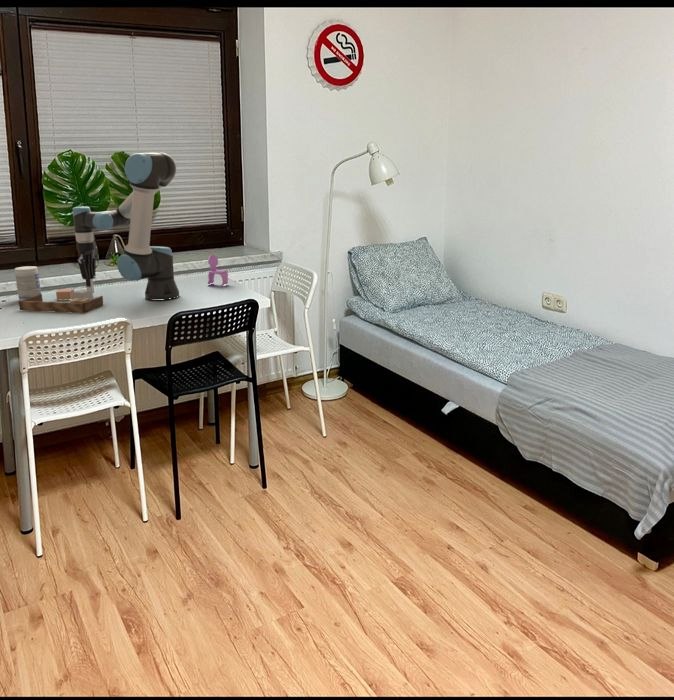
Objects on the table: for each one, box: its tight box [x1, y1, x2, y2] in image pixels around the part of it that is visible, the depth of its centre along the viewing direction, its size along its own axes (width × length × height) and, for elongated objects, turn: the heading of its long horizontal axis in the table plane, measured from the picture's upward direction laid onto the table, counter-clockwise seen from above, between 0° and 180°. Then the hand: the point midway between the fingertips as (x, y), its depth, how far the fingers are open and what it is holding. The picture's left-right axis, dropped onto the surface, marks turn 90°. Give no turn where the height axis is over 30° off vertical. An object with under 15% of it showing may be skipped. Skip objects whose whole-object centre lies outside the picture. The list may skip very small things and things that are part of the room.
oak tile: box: [69, 298, 91, 303], centre depth 294 cm, size 6×6×4 cm
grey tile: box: [72, 289, 94, 300], centre depth 312 cm, size 6×6×4 cm
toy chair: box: [207, 254, 229, 286], centre depth 337 cm, size 8×9×15 cm
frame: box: [18, 293, 104, 314], centre depth 295 cm, size 30×15×4 cm, turn 80°
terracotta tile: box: [55, 288, 75, 300], centre depth 313 cm, size 6×6×4 cm
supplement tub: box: [14, 265, 42, 301], centre depth 309 cm, size 10×10×15 cm
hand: (90, 293), depth 318 cm, fingers closed
